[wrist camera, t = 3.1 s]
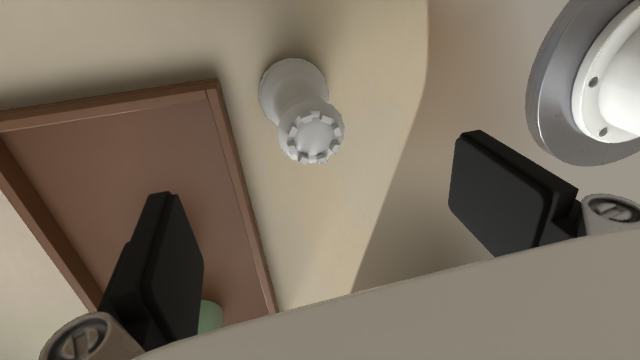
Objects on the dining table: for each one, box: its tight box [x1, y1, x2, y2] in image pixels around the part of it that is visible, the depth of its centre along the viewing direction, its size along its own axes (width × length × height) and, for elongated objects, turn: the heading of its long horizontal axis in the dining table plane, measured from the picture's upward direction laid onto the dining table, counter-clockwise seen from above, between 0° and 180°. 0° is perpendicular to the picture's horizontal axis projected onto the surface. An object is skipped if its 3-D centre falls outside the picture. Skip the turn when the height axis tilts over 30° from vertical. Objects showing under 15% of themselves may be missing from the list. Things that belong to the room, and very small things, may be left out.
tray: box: [0, 78, 279, 327], centre depth 25 cm, size 13×24×2 cm, turn 6°
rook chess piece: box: [259, 58, 345, 165], centre depth 19 cm, size 4×4×8 cm
